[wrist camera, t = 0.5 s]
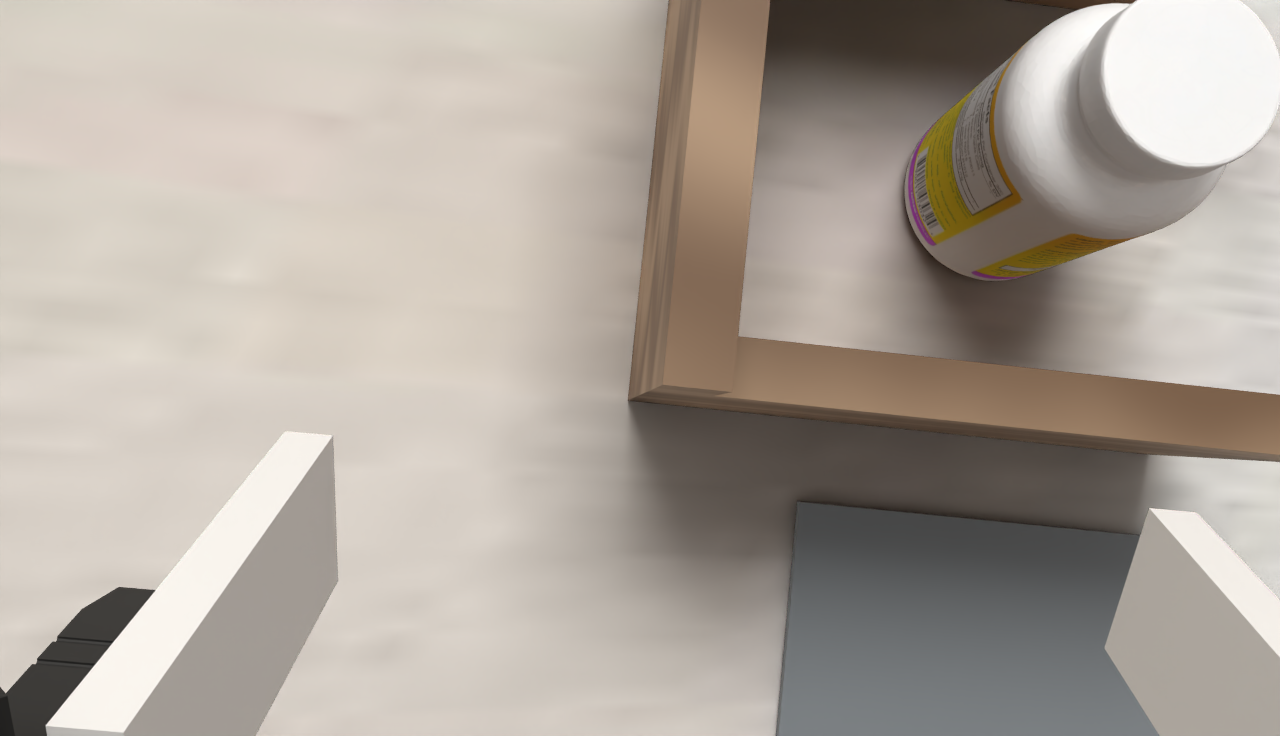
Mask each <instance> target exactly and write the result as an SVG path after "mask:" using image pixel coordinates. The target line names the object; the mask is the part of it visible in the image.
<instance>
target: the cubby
mask: <svg viewBox="0 0 1280 736" xmlns="http://www.w3.org/2000/svg"><path fill="white" fill-rule="evenodd" d="M1008 1H1016V2H1023V3H1031V4H1039V5H1047V6H1055V7H1062V8H1070V9H1078V10H1080V9H1083V8H1086V7H1090V6H1095V5H1101V4H1111V3H1122V4H1132V3H1133V2H1135V1H1136V0H1008ZM769 9H770V0H669V4H668V14H667V23H666V33H665V43H664V53H663V62H662V72H661V82H660V92H659V101H658V111H657V121H656V131H655V140H654V150H653V160H652V170H651V179H650V189H649V199H648V208H647V218H646V228H645V238H644V247H643V257H642V267H641V277H640V286H639V296H638V306H637V316H636V325H635V335H634V345H633V355H632V364H631V374H630V384H629V394H628V400H629V401H638V402H648V403H658V404H667V405H677V406H687V407H696V408H706V409H715V410H725V411H735V412H744V413H754V414H764V415H773V416H783V417H793V418H802V419H812V420H822V421H831V422H841V423H851V424H860V425H870V426H879V427H889V428H899V429H908V430H918V431H928V432H937V433H947V434H957V435H966V436H976V437H986V438H995V439H1005V440H1015V441H1024V442H1034V443H1043V444H1053V445H1063V446H1072V447H1082V448H1092V449H1101V450H1111V451H1121V452H1130V453H1140V454H1150V455H1168V456H1185V457H1203V458H1221V459H1239V460H1257V461H1275V462H1280V395H1276V394H1267V393H1257V392H1248V391H1239V390H1230V389H1220V388H1211V387H1202V386H1193V385H1183V384H1174V383H1165V382H1155V381H1146V380H1137V379H1128V378H1118V377H1109V376H1100V375H1091V374H1081V373H1072V372H1063V371H1053V370H1044V369H1035V368H1026V367H1016V366H1007V365H998V364H989V363H979V362H970V361H961V360H952V359H942V358H933V357H924V356H914V355H905V354H896V353H887V352H877V351H868V350H859V349H850V348H840V347H831V346H822V345H812V344H803V343H794V342H785V341H775V340H766V339H757V338H748V337H738V331H739V320H740V310H741V299H742V289H743V279H744V268H745V258H746V248H747V237H748V227H749V217H750V206H751V196H752V185H753V175H754V165H755V154H756V144H757V134H758V123H759V113H760V102H761V92H762V82H763V71H764V61H765V51H766V40H767V30H768V19H769Z"/></svg>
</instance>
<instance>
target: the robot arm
mask: <svg viewBox="0 0 1280 736" xmlns="http://www.w3.org/2000/svg"><path fill="white" fill-rule="evenodd" d="M337 582H338V566H337V537H336V507H335V478H334V448H333V435H323V434H311V433H300V432H289V431H285V432H284V433H283V434H282V436H281V437H280V438H279V439H278V441H277V442H276V443H275V444H274V445H273V447H272V448H271V449H270V450H269V452H268V453H267V454H266V455H265V457H264V458H263V459H262V460H261V461H260V463H259V464H258V465H257V466H256V468H255V469H254V470H253V471H252V472H251V474H250V475H249V476H248V477H247V479H246V480H245V481H244V482H243V484H242V485H241V486H240V487H239V488H238V490H237V491H236V492H235V493H234V495H233V496H232V497H231V498H230V500H229V501H228V502H227V503H226V504H225V506H224V507H223V508H222V509H221V511H220V512H219V513H218V514H217V516H216V517H215V518H214V519H213V520H212V522H211V523H210V524H209V525H208V527H207V528H206V529H205V530H204V532H203V533H202V534H201V535H200V536H199V538H198V539H197V540H196V541H195V543H194V544H193V545H192V546H191V547H190V549H189V550H188V551H187V552H186V554H185V555H184V556H183V557H182V559H181V560H180V561H179V562H178V563H177V565H176V566H175V567H174V568H173V570H172V571H171V572H170V573H169V575H168V576H167V577H166V578H165V579H164V581H163V582H162V583H161V584H160V586H159V587H158V588H157V589H156V590H147V589H136V588H124V587H118V588H116V589H115V590H113V591H111V592H110V593H108V594H106V595H105V596H103V597H101V598H100V599H98V600H96V601H95V602H93V603H91V604H90V605H88V606H86V607H85V608H83V609H82V610H81V611H80V612H79V613H78V614H77V615H76V616H75V617H74V619H73V620H72V621H71V622H70V623H69V624H68V625H67V626H66V627H65V629H64V630H63V631H62V632H61V633H60V634H59V635H58V636H57V641H56V642H52V643H51V644H50V645H49V646H48V647H47V648H46V650H45V651H44V652H43V653H42V654H41V655H40V656H39V657H38V658H37V663H36V665H35V664H32V665H31V666H30V667H29V668H28V669H27V671H26V672H25V673H24V674H23V675H22V676H21V677H20V678H19V679H18V681H17V682H16V683H15V684H14V685H13V686H12V687H11V688H10V689H9V691H8V692H7V693H6V694H5V692H4V691H3V690H2V689H1V687H0V736H256V734H257V732H258V730H259V728H260V726H261V724H262V722H263V721H264V719H265V717H266V715H267V713H268V711H269V709H270V707H271V706H272V704H273V702H274V700H275V698H276V696H277V694H278V692H279V691H280V689H281V687H282V685H283V683H284V681H285V679H286V677H287V676H288V674H289V672H290V670H291V668H292V666H293V664H294V662H295V661H296V659H297V657H298V655H299V653H300V651H301V649H302V647H303V646H304V644H305V642H306V640H307V638H308V636H309V634H310V632H311V631H312V629H313V627H314V625H315V623H316V621H317V619H318V617H319V615H320V614H321V612H322V610H323V608H324V606H325V604H326V602H327V600H328V599H329V597H330V595H331V593H332V591H333V589H334V587H335V585H336V584H337ZM1105 650H1106V652H1107V653H1108V655H1109V656H1110V658H1111V659H1112V661H1113V663H1114V664H1115V666H1116V667H1117V669H1118V671H1119V672H1120V674H1121V675H1122V677H1123V678H1124V680H1125V682H1126V683H1127V685H1128V686H1129V688H1130V690H1131V691H1132V693H1133V694H1134V696H1135V697H1136V699H1137V701H1138V702H1139V704H1140V705H1141V707H1142V709H1143V710H1144V712H1145V713H1146V715H1147V716H1148V718H1149V720H1150V721H1151V723H1152V724H1153V726H1154V728H1155V729H1156V731H1157V732H1158V734H1159V735H1160V736H1280V599H1279V598H1278V597H1277V596H1276V595H1275V594H1274V593H1273V592H1272V591H1271V590H1270V589H1269V588H1268V587H1267V586H1266V585H1265V584H1264V583H1263V582H1262V580H1261V579H1260V578H1259V577H1258V576H1257V575H1256V574H1255V573H1254V572H1253V571H1252V570H1251V569H1250V568H1249V567H1248V566H1247V565H1246V564H1245V563H1244V562H1243V561H1242V560H1241V558H1240V557H1239V556H1238V555H1237V554H1236V553H1235V552H1234V551H1233V550H1232V549H1231V548H1230V547H1229V546H1228V545H1227V544H1226V543H1225V542H1224V541H1223V540H1222V539H1221V537H1220V536H1219V535H1218V534H1217V533H1216V532H1215V531H1214V530H1213V529H1212V528H1211V527H1210V526H1209V525H1208V524H1207V523H1206V522H1205V521H1204V520H1203V519H1202V518H1201V516H1200V515H1199V514H1198V513H1197V512H1188V511H1177V510H1165V509H1154V508H1149V510H1148V513H1147V516H1146V519H1145V523H1144V526H1143V529H1142V532H1141V535H1140V538H1139V541H1138V544H1137V548H1136V551H1135V554H1134V557H1133V560H1132V563H1131V566H1130V569H1129V573H1128V576H1127V579H1126V582H1125V585H1124V588H1123V591H1122V595H1121V598H1120V601H1119V604H1118V607H1117V610H1116V613H1115V616H1114V620H1113V623H1112V626H1111V629H1110V632H1109V635H1108V638H1107V641H1106V645H1105Z"/></svg>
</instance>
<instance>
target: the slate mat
mask: <svg viewBox="0 0 1280 736" xmlns="http://www.w3.org/2000/svg"><path fill="white" fill-rule="evenodd" d="M1139 538H1140V535H1134V534H1123V533H1113V532H1103V531H1093V530H1083V529H1073V528H1063V527H1053V526H1043V525H1033V524H1023V523H1012V522H1002V521H992V520H982V519H972V518H962V517H952V516H942V515H932V514H922V513H911V512H901V511H891V510H881V509H871V508H861V507H851V506H841V505H831V504H821V503H810V502H800V501H797V512H796V523H795V534H794V545H793V556H792V567H791V577H790V588H789V599H788V610H787V621H786V632H785V643H784V654H783V665H782V675H781V686H780V697H779V708H778V719H777V730H776V736H1160V735H1159V734H1158V732H1157V731H1156V729H1155V728H1154V726H1153V724H1152V723H1151V721H1150V720H1149V718H1148V716H1147V715H1146V713H1145V712H1144V710H1143V709H1142V707H1141V705H1140V704H1139V702H1138V701H1137V699H1136V697H1135V696H1134V694H1133V693H1132V691H1131V690H1130V688H1129V686H1128V685H1127V683H1126V682H1125V680H1124V678H1123V677H1122V675H1121V674H1120V672H1119V671H1118V669H1117V667H1116V666H1115V664H1114V663H1113V661H1112V659H1111V658H1110V656H1109V655H1108V653H1107V652H1106V650H1105V645H1106V641H1107V638H1108V635H1109V632H1110V629H1111V626H1112V623H1113V620H1114V616H1115V613H1116V610H1117V607H1118V604H1119V601H1120V598H1121V595H1122V591H1123V588H1124V585H1125V582H1126V579H1127V576H1128V573H1129V569H1130V566H1131V563H1132V560H1133V557H1134V554H1135V551H1136V548H1137V544H1138V541H1139Z"/></svg>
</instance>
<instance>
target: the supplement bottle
mask: <svg viewBox="0 0 1280 736" xmlns="http://www.w3.org/2000/svg"><path fill="white" fill-rule="evenodd" d="M1279 104H1280V56H1279V53H1278V50H1277V47H1276V45H1275V43H1274V40H1273V38H1272V36H1271V35H1270V33H1269V31H1268V30H1267V28H1266V27H1265V25H1264V24H1263V22H1262V21H1261V20H1260V18H1259V17H1258V16H1257V15H1256V14H1255V13H1254V12H1253V11H1252V10H1251V9H1250V8H1249V7H1247V6H1246V5H1245V4H1244V3H1242V2H1241V1H1240V0H1136V1H1135V2H1133V3H1132V4H1122V3H1111V4H1101V5H1095V6H1090V7H1086V8H1083V9H1080V10H1077V11H1074V12H1072V13H1069V14H1067V15H1065V16H1063V17H1061V18H1059V19H1057V20H1056V21H1054V22H1052V23H1051V24H1049V25H1048V26H1046V27H1045V28H1044V29H1042V30H1041V31H1040V32H1039V33H1037V34H1036V35H1035V36H1034V37H1032V38H1031V39H1030V40H1029V41H1028V42H1026V43H1025V44H1024V45H1023V46H1022V47H1021V48H1020V49H1019V50H1018V51H1016V52H1015V53H1014V54H1013V55H1012V56H1011V57H1010V58H1009V59H1007V60H1006V61H1005V62H1004V63H1003V64H1002V65H1001V66H999V67H998V68H997V69H996V70H995V71H994V72H992V73H991V74H990V75H989V76H988V77H987V78H985V79H984V80H983V81H982V82H981V83H980V84H979V85H977V86H976V87H975V88H974V89H973V90H972V91H971V92H970V93H968V94H967V95H966V96H965V97H964V98H963V99H962V100H960V101H959V102H958V103H957V104H956V105H955V106H953V107H952V108H951V109H950V110H949V111H948V112H947V113H945V114H944V115H943V116H942V117H941V118H940V119H939V120H938V121H937V122H936V123H935V124H934V125H933V126H932V127H931V128H930V129H929V130H928V131H927V132H926V133H925V134H924V135H923V137H922V138H921V140H920V141H919V143H918V144H917V146H916V148H915V150H914V152H913V154H912V156H911V158H910V161H909V164H908V168H907V173H906V178H905V203H906V209H907V213H908V217H909V220H910V223H911V225H912V227H913V230H914V232H915V234H916V235H917V237H918V238H919V240H920V242H921V243H922V244H923V246H924V247H925V248H926V249H927V250H928V252H929V253H930V254H931V255H932V256H933V257H935V258H936V259H937V260H938V261H939V262H941V263H942V264H943V265H945V266H946V267H948V268H950V269H951V270H953V271H955V272H957V273H959V274H962V275H965V276H968V277H971V278H974V279H979V280H987V281H1004V280H1011V279H1016V278H1020V277H1023V276H1026V275H1030V274H1033V273H1036V272H1039V271H1042V270H1045V269H1048V268H1050V267H1053V266H1056V265H1059V264H1062V263H1065V262H1068V261H1070V260H1073V259H1076V258H1079V257H1082V256H1085V255H1087V254H1090V253H1093V252H1096V251H1099V250H1102V249H1104V248H1107V247H1110V246H1113V245H1116V244H1119V243H1122V242H1125V241H1128V240H1130V239H1133V238H1137V237H1140V236H1143V235H1146V234H1149V233H1152V232H1154V231H1156V230H1159V229H1162V228H1164V227H1166V226H1168V225H1171V224H1173V223H1175V222H1177V221H1178V220H1180V219H1181V218H1183V217H1184V216H1186V215H1187V214H1188V213H1190V212H1191V211H1192V210H1194V209H1195V208H1196V207H1197V206H1198V205H1199V204H1200V203H1201V202H1202V201H1203V200H1204V199H1205V198H1206V197H1207V196H1208V195H1209V193H1210V192H1211V191H1212V189H1213V188H1214V187H1215V185H1216V183H1217V182H1218V180H1219V179H1220V177H1221V175H1222V174H1223V172H1224V170H1225V167H1226V165H1227V164H1228V163H1230V162H1232V161H1234V160H1236V159H1238V158H1240V157H1242V156H1243V155H1245V154H1246V153H1247V152H1249V151H1250V150H1251V149H1253V148H1254V147H1255V146H1256V145H1257V144H1258V143H1259V142H1260V141H1261V140H1262V138H1263V137H1264V136H1265V134H1266V133H1267V131H1268V130H1269V128H1270V126H1271V125H1272V123H1273V121H1274V119H1275V117H1276V114H1277V111H1278V107H1279Z"/></svg>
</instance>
